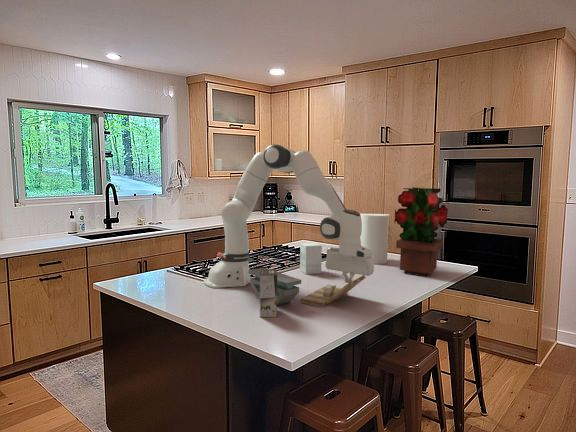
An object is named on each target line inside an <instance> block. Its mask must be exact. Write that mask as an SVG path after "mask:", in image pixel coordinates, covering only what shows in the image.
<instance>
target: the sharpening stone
mask: <svg viewBox="0 0 576 432" xmlns="http://www.w3.org/2000/svg"><path fill="white" fill-rule="evenodd" d="M261 269H264V270H265V269H267V268H266V267H258V268H253V269H249V274H250V276H251V275H252V276H254V277H251V278H250V283H249V284H250V286H251V288H252V290H253V292H254V294H255V296H256V298H257V299H258V300H260V270H261ZM301 284H302V279H300V278H296V277H294V276H290V275H287V274H284V273H281V272H277V306H279V305H282V304H288V303H291V301H292V300H293V299H294V298H295V297H297V296H298V294H299V293H300V287H299V286H298V285H301Z"/></svg>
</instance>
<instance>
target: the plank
mask: <svg viewBox="0 0 576 432" xmlns="http://www.w3.org/2000/svg"><path fill="white" fill-rule="evenodd" d="M366 277H367V276H366V275H360V276H359V277H357V278H356V279H354V280H352V282H350V283H346V284H345V285H344V286H343V287H342V289H341V290H339V291H338V292H337V293H336V294H334V295H333V296H332V297H331V298H329V299H328V300H327V301H326V303H328V304H327V305H329V304H331V303H332V302H334V301H335V300H337V299H339V298H340V297H342V296H344V295H346V294H347V293H348V292H349V291H351V290H352V289H353V288H355V287H356V286H357V285H358V284H360V283H361V282H362V281H363V280H365V279H366Z"/></svg>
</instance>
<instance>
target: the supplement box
mask: <svg viewBox="0 0 576 432" xmlns="http://www.w3.org/2000/svg"><path fill="white" fill-rule="evenodd" d="M299 247H300V249H299V250H300V253H299V261H300V262H299V271H300V272H301V273H303V274H304V275H313V274H314V275H315V274H322V251H323V245H322V244H320V243H318V242H300V246H299Z"/></svg>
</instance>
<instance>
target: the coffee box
mask: <svg viewBox="0 0 576 432" xmlns="http://www.w3.org/2000/svg"><path fill="white" fill-rule="evenodd" d="M277 306H278V305H277V269H274V268H273V269H271V268H266V269H265V270H264V269H261V270H260V299H259V317H260V318H276V317H277V311H278V310H277Z"/></svg>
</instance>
